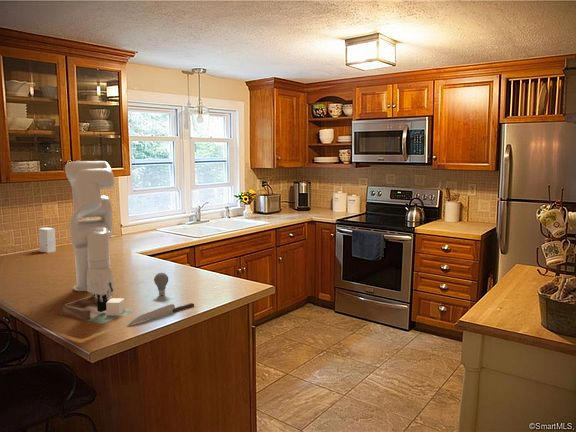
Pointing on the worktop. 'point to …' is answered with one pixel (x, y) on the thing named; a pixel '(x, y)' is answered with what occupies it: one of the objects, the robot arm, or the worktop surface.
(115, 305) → the cream block
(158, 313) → the kitchen knife
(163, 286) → the light bulb
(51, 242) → the skincare box
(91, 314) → the walnut cubby
